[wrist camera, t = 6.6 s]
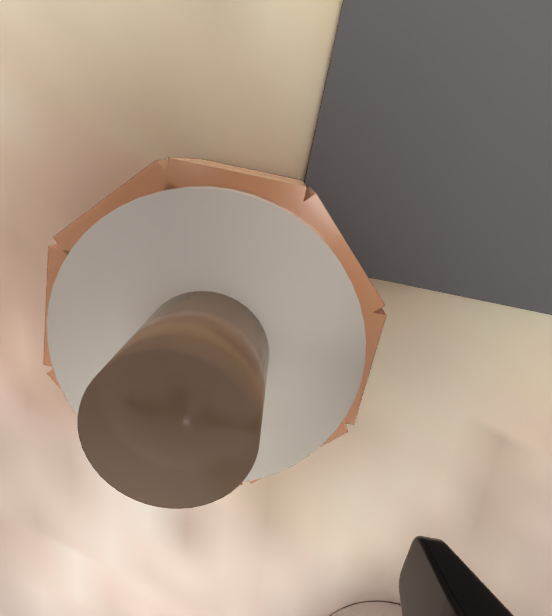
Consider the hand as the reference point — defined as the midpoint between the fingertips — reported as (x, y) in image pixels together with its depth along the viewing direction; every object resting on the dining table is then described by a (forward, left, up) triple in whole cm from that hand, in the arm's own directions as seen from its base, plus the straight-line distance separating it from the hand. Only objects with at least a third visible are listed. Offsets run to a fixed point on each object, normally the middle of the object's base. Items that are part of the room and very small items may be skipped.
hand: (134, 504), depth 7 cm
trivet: (-9, -9, -12) cm, 17 cm away
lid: (0, 0, -7) cm, 7 cm away
